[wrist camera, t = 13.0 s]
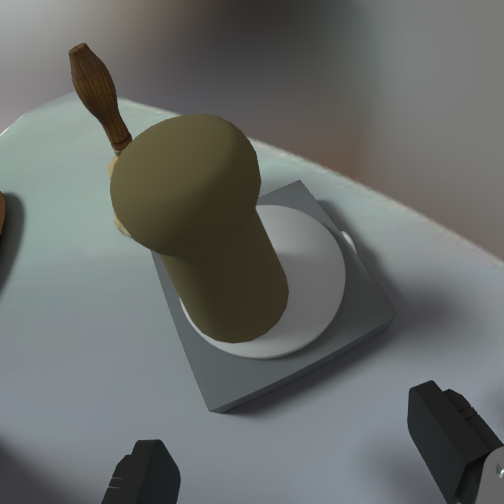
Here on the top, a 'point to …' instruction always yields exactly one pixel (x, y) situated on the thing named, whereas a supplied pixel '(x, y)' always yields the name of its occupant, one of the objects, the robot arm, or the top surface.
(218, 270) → the cork
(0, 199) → the saucer
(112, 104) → the hand bell
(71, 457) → the top surface
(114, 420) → the top surface
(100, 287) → the top surface
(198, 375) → the scale
